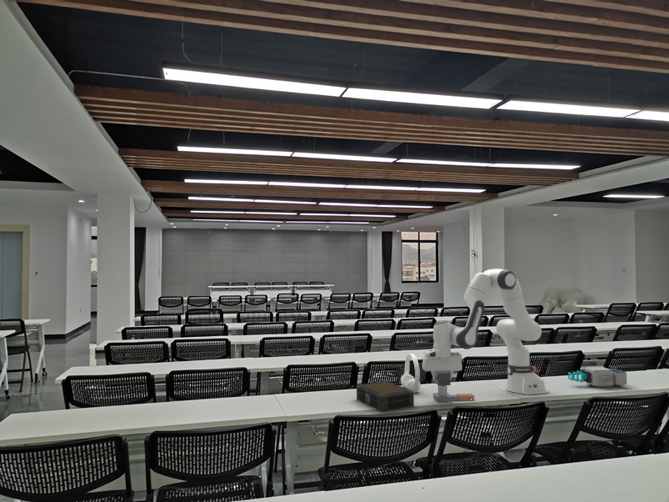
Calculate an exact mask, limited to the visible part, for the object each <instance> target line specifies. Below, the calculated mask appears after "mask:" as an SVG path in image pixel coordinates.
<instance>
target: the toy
mask: <svg viewBox="0 0 669 502" xmlns="http://www.w3.org/2000/svg"><path fill="white" fill-rule="evenodd" d="M567 373H568V374H567V375H568V377H567V378H568V380H570V381H574V382H580V383H584V382H585V383H586V384H589V385H590V386H593V387H594V388H611V386H612V387H613V386H614V385H616V386H625V385H627V383H628V377H627V376H628V375H627V373H628V372H626V371H623V370H620V369H617V368H606V367H604V366H586V367H584V370H583V371H582V372H581V371H579V370H576V371H572V373H571V372H567ZM579 376H580V377H579Z"/></svg>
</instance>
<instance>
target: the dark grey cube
mask: <svg viewBox="0 0 669 502" xmlns="http://www.w3.org/2000/svg"><path fill="white" fill-rule="evenodd" d="M450 373H451V372H450V371H435V373H434V375H435V376H437V380H434V384H436V385H437V387H438V386H443V385H446V386H451V380H450Z"/></svg>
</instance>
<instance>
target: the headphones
mask: <svg viewBox="0 0 669 502" xmlns="http://www.w3.org/2000/svg"><path fill="white" fill-rule="evenodd" d="M411 359H412V362H413V365H414V373H415V374H414V376H413V375H411V374H410V361H411ZM404 362H405V363H404V374H403V375H402V376H401V378H400V384H401V385H402V387H404V388H406V389H409V390H412V391H413V392H414V394H415V393H417V392H419V391H420V389H421V382H420V378H421V373H420V365H419V361H418V358H417V356H416V355H415V354H414V353H408V354H407V355H406V356H405V361H404Z"/></svg>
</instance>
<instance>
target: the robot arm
mask: <svg viewBox="0 0 669 502" xmlns="http://www.w3.org/2000/svg"><path fill="white" fill-rule="evenodd" d="M470 280H471V281H469V283H468V285H467V287H466V289H465V292H464V295H463V300H464V301H463V302H464V303H465V304H466V306H468V308H469V310H470V311H469V315H468V319H467V321H466V325H465V326H464V327H460V326H457V325H455V324H452V323H451V322H450V321H448V320H439V321H436V322H435V323H434V325H433V330H432V331H433V333H432V339H433V345H432V348H430V349H427V350H425V351H424V352H423V353H424V356H423V359H422V363H421V366H422V370H423V371H424V372H430V374H431V375H432V380H433V381H435V380H437V376H435V371H448V372H449V373H450V381H452V377H453V375H454V374H455V373H454V372H455V371H457V372H459V371H462V369H463V364H462V363H463V362H462V358H463V355H462V353H460V352H453V351H452V345H454V346H456V347H459V348H462V349H464V350H471V349H472V348H474V346H475V345H476V343H477V340H478V331H479V328H480V325H481V322H482V319H483V316H484V313H485V304H486V299H487V297H488V296H489V292H490V290H491V289H492V290H493V289H494V290H500V295H501V300H502V306H503V310H504V313H505V314H507V315H509V317H511V318H505V319H500V320H499V321H497V323H496V327H495V328H496V333H497V334H498V336H499V337H501V339H502V340H503V342H504V344H505V346H506V349H507V358H508V359H507V360H508V361H507V363H508V364H507V382H506V383H507V384H506V387H505V390H506V391H509V392H512V393H515V394H522V395H525V396H528V395H529V396H530V395H539V394H549V393H551V390H550V389H549V388H547V387H546V384H545V382H544V379H543V378H541V377H540V376H539V375H538V374H536V373H535V371H537V366H534V365H533V366H532V365H531V364H530V363H531V361H530V351H529V349H528V348H527V346H525V345H523V343H522V341H524V342H525V341H526V342H533V341H534V342H535V341H537V340H539V339H540V338H541V336H542V332H543V331H542V328H541V326H540V324H539V323H538V322H536V321H535V320H534V319H533V318H532V316H530V313H529V312H528V309H527V308H526V305H525V300H524V295H523V291H522V286H521V283H520V281H519V279H518V278H517V277H516V275H515V273H514V272H513V271H512V270H509V269H503V268H485V269H482V270H481V271H480V272H476V274H474V276H473V277H472V279H470Z"/></svg>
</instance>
